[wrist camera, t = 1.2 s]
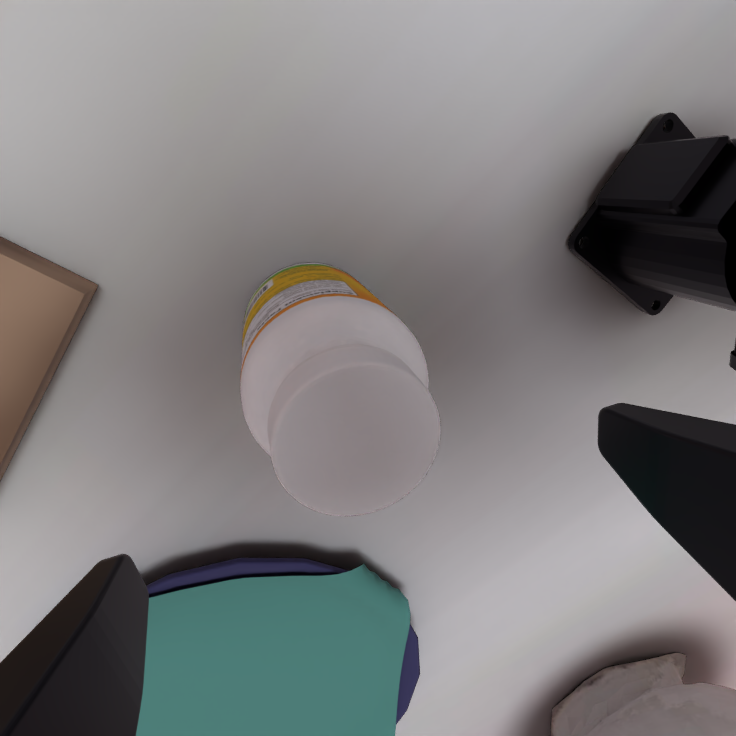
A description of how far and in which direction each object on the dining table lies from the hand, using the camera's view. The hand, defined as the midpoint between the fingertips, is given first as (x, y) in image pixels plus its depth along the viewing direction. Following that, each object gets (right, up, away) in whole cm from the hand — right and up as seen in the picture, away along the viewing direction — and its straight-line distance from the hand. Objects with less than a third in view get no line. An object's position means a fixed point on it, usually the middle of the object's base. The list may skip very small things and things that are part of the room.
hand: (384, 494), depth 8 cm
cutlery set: (-8, -20, +20) cm, 29 cm away
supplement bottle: (-3, +4, +11) cm, 12 cm away
